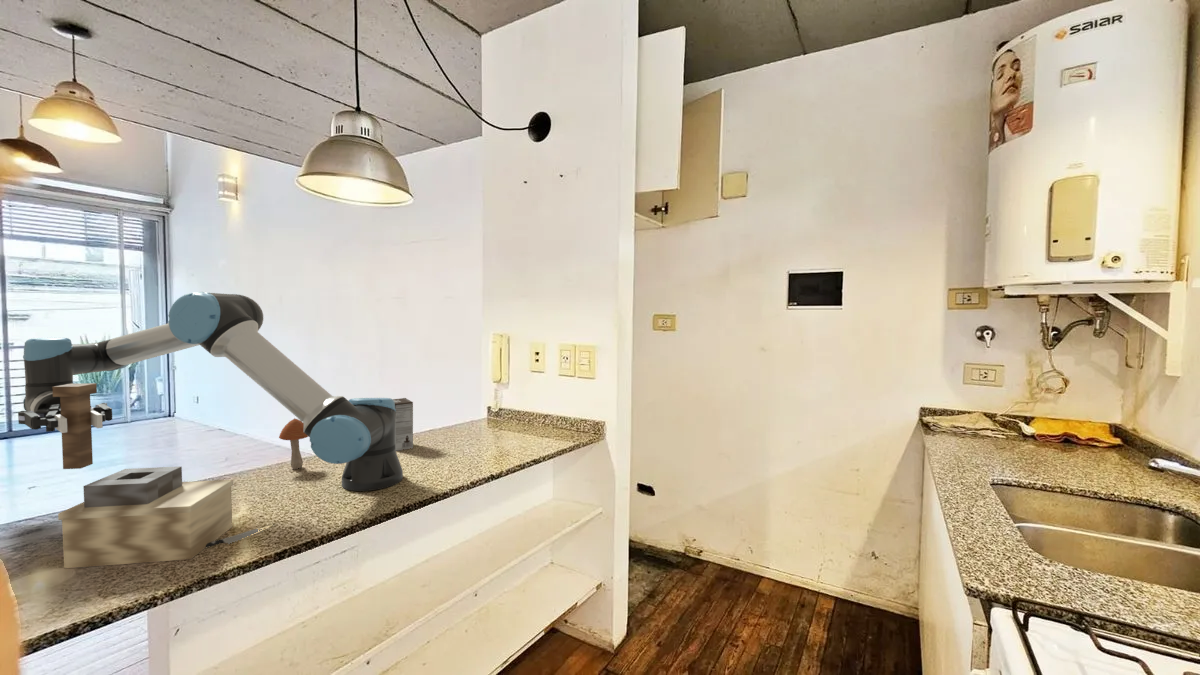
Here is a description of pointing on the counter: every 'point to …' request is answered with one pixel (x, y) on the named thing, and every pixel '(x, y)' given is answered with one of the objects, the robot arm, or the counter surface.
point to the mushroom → (294, 440)
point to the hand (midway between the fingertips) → (82, 423)
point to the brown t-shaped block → (76, 423)
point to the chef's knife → (233, 538)
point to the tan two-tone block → (145, 518)
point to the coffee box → (403, 424)
